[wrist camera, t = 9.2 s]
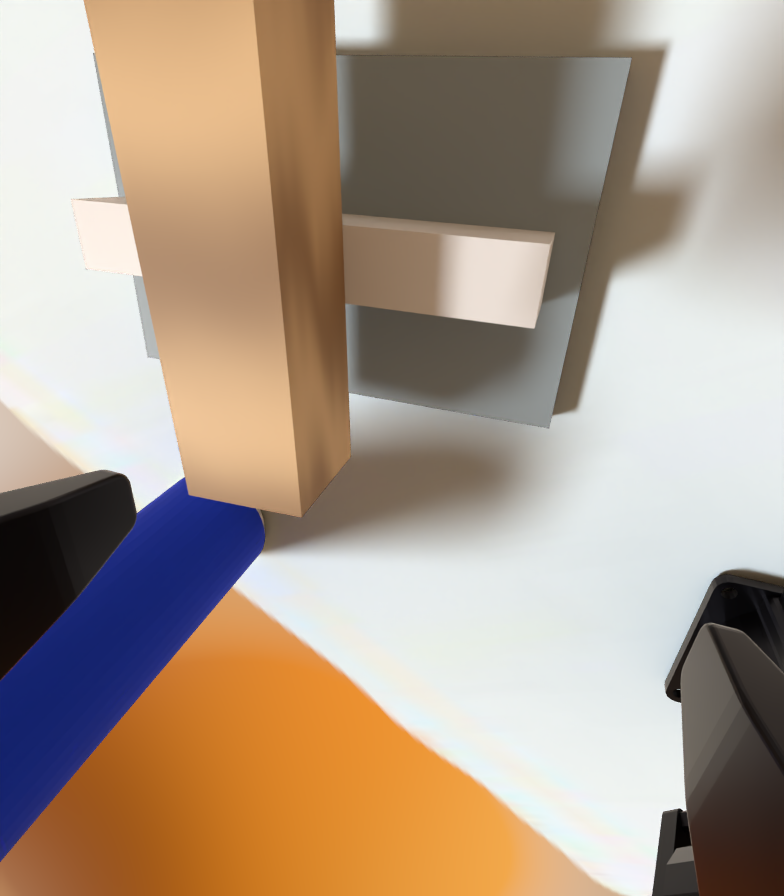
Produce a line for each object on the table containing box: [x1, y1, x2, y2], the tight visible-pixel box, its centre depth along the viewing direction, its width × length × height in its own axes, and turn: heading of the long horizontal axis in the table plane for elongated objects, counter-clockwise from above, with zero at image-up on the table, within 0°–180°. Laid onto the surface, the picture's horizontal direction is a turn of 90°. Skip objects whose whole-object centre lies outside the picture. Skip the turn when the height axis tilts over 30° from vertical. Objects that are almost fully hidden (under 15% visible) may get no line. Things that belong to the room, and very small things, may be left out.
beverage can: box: [0, 477, 265, 862], centre depth 19 cm, size 5×5×15 cm
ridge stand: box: [71, 53, 632, 428], centre depth 16 cm, size 10×16×4 cm, turn 86°
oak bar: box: [84, 0, 351, 518], centre depth 13 cm, size 12×4×4 cm, turn 179°
